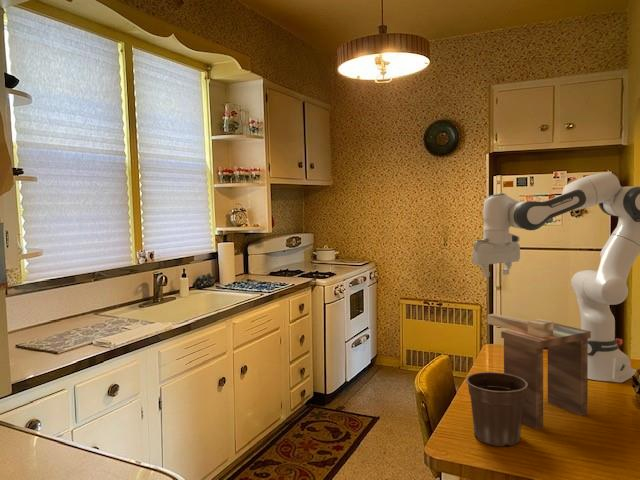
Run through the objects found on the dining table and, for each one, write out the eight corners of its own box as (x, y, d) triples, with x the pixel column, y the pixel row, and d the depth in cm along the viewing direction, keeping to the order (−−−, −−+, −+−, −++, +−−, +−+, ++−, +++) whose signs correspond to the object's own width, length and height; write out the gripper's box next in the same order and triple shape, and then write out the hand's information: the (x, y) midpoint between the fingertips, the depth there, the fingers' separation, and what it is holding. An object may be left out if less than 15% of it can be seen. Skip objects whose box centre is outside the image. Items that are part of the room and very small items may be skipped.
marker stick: (495, 322, 163) (495, 310, 163) (553, 335, 145) (553, 321, 145) (485, 324, 161) (485, 312, 160) (542, 337, 143) (542, 324, 142)
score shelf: (551, 399, 162) (551, 322, 161) (590, 415, 150) (590, 331, 148) (501, 413, 153) (501, 331, 152) (538, 430, 140) (538, 341, 139)
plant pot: (474, 420, 149) (473, 368, 148) (531, 430, 141) (531, 376, 140) (460, 443, 135) (459, 385, 134) (523, 456, 127) (522, 395, 126)
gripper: (480, 240, 172) (481, 279, 173) (523, 236, 181) (523, 274, 182) (468, 239, 178) (468, 277, 179) (509, 236, 187) (510, 272, 187)
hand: (496, 275), depth 180 cm, fingers open, 8 cm apart
